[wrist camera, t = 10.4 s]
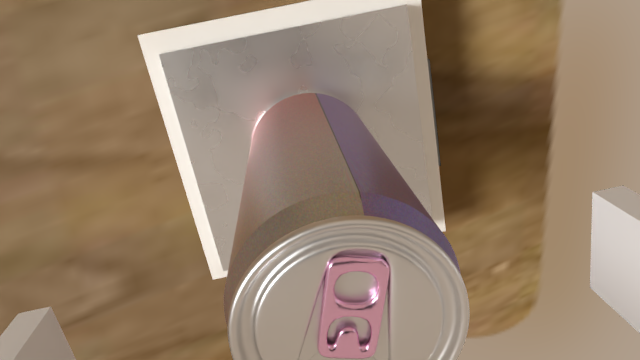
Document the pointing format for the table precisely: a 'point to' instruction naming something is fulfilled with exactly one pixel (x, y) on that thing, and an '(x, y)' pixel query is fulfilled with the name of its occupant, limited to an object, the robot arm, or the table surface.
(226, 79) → the pan
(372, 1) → the base
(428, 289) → the beverage can
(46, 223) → the table surface
